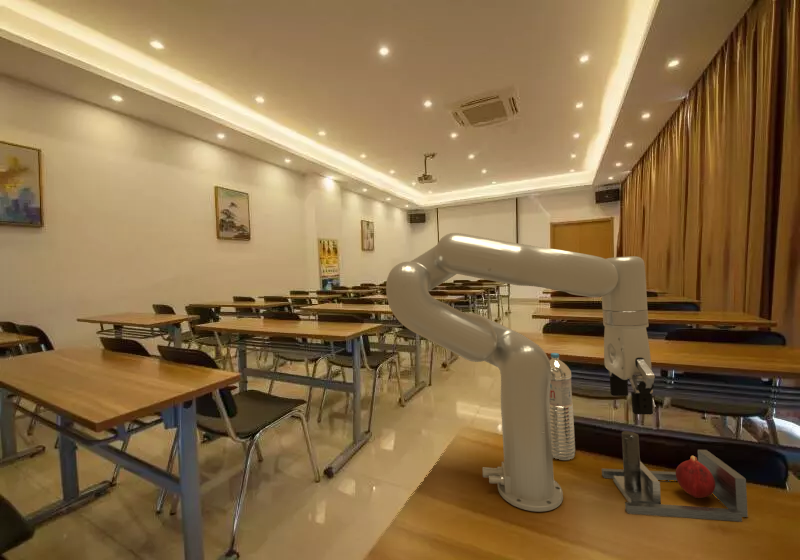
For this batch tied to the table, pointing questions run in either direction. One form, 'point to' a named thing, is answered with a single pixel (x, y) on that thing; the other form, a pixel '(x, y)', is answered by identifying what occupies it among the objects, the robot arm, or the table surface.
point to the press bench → (726, 490)
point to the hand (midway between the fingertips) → (630, 403)
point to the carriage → (636, 474)
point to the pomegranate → (695, 478)
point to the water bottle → (561, 410)
